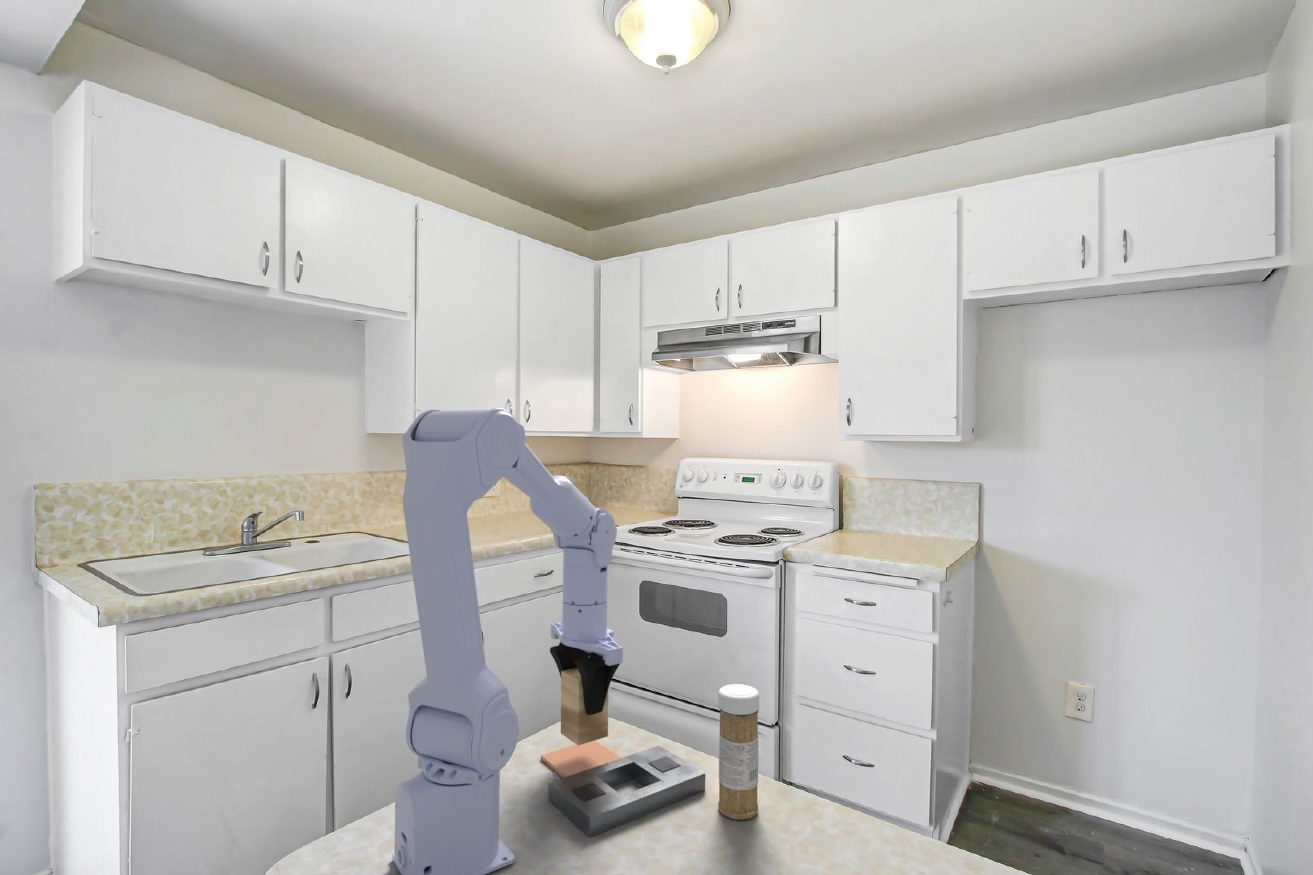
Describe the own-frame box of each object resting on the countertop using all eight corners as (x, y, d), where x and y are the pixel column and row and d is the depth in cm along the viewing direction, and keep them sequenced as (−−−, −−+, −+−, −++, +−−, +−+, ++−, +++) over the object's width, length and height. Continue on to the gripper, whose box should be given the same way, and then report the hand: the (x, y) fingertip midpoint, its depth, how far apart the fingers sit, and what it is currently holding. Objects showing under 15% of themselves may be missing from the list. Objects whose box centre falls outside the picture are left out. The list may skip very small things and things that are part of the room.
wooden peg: (578, 745, 82) (578, 680, 82) (560, 733, 85) (561, 670, 86) (607, 736, 85) (608, 673, 85) (589, 724, 88) (590, 664, 88)
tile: (572, 784, 79) (572, 780, 79) (540, 759, 86) (540, 755, 86) (626, 765, 84) (626, 761, 84) (593, 742, 90) (593, 739, 90)
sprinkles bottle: (737, 795, 77) (738, 679, 77) (767, 812, 74) (767, 690, 74) (709, 808, 74) (710, 688, 74) (738, 827, 71) (739, 700, 71)
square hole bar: (589, 837, 68) (590, 816, 69) (548, 800, 76) (548, 781, 76) (705, 789, 78) (705, 772, 78) (658, 761, 85) (658, 744, 85)
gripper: (643, 607, 82) (642, 717, 82) (582, 586, 93) (581, 683, 93) (595, 615, 78) (593, 731, 77) (537, 593, 89) (536, 694, 89)
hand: (584, 706), depth 85 cm, fingers closed on wooden peg, 4 cm apart
